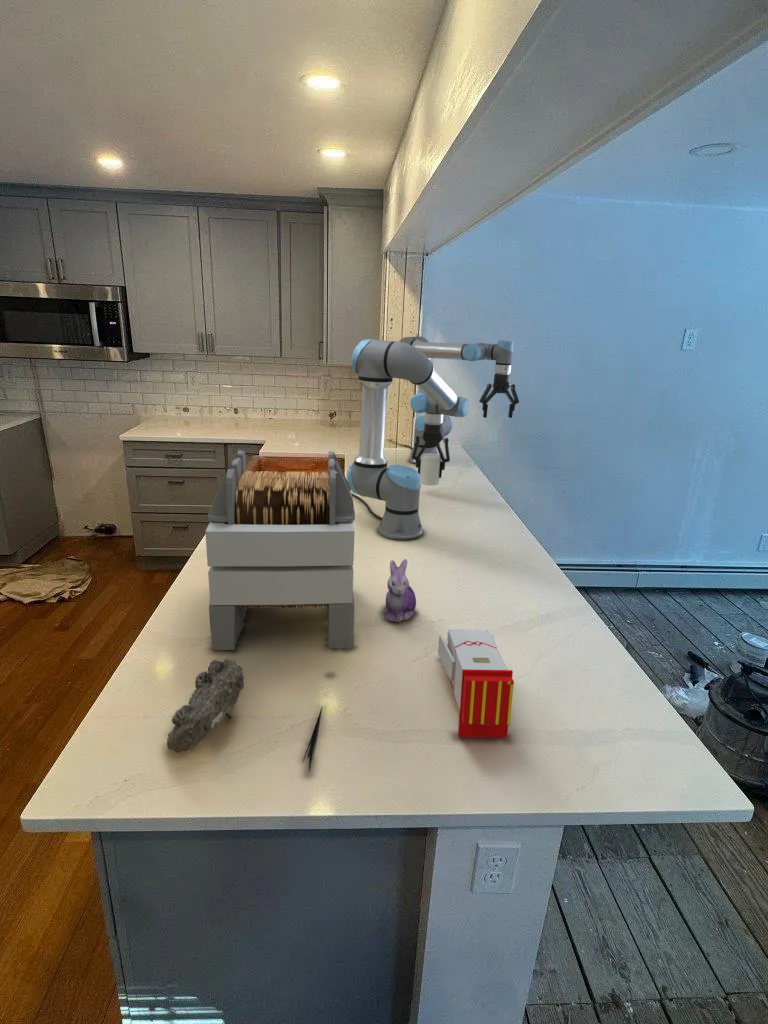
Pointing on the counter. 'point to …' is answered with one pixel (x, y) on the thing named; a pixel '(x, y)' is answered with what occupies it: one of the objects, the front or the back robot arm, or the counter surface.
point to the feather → (313, 740)
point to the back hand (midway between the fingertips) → (497, 417)
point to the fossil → (206, 705)
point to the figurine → (399, 594)
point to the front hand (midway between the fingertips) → (429, 476)
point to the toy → (478, 682)
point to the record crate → (281, 548)
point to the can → (430, 469)
